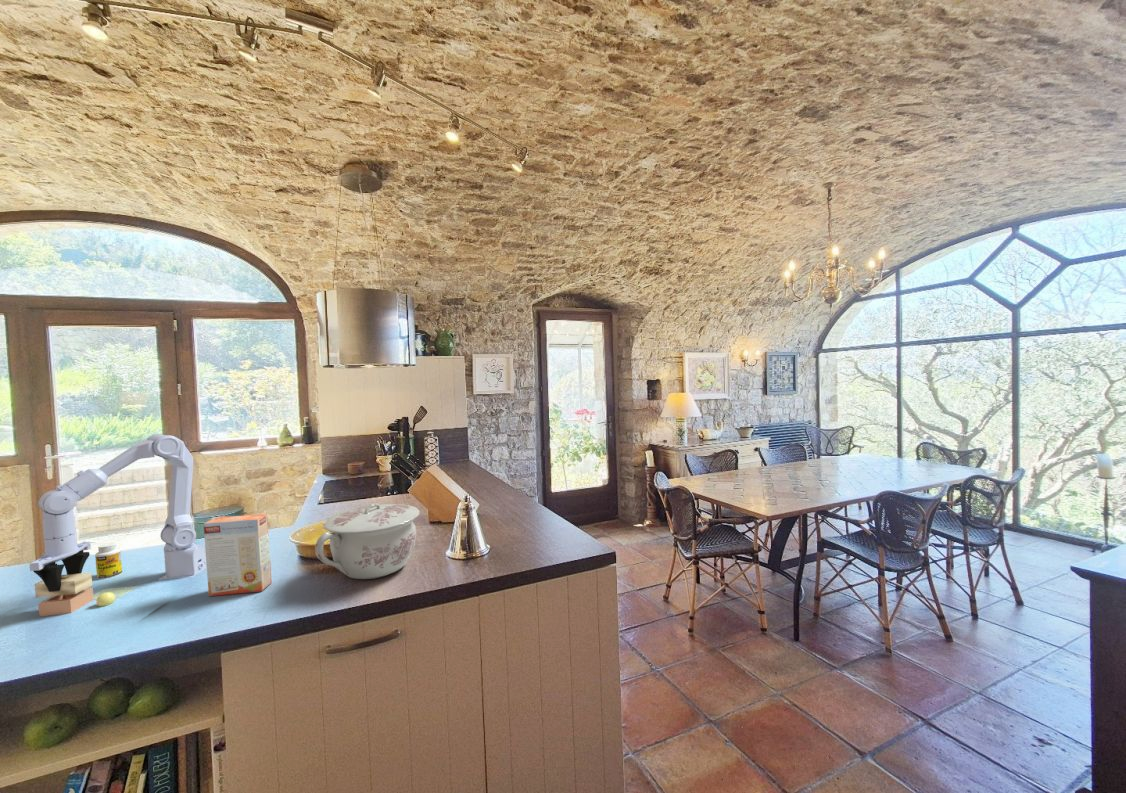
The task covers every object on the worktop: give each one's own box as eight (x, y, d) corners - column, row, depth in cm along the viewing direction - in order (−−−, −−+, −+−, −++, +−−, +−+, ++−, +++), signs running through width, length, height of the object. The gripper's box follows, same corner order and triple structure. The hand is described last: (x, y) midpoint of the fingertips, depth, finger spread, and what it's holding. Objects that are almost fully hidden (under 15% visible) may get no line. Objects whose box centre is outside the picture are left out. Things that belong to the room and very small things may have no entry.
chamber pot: (422, 547, 158) (419, 488, 157) (423, 581, 132) (419, 510, 131) (332, 560, 150) (329, 497, 149) (315, 598, 123) (310, 523, 122)
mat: (139, 587, 133) (139, 585, 133) (119, 599, 127) (119, 597, 127) (104, 590, 132) (104, 588, 132) (82, 602, 125) (82, 600, 125)
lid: (92, 585, 124) (90, 570, 124) (75, 593, 119) (74, 578, 119) (54, 588, 123) (52, 573, 123) (35, 597, 118) (34, 581, 118)
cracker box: (272, 582, 134) (268, 512, 133) (262, 592, 128) (257, 519, 127) (221, 587, 132) (216, 516, 131) (207, 597, 126) (202, 522, 125)
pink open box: (93, 601, 126) (92, 587, 125) (71, 614, 119) (70, 599, 119) (63, 605, 124) (62, 590, 124) (39, 618, 118) (38, 603, 117)
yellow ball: (119, 602, 125) (118, 589, 125) (108, 608, 121) (107, 595, 121) (104, 603, 125) (103, 590, 124) (93, 610, 121) (91, 596, 121)
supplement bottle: (94, 582, 138) (91, 549, 138) (100, 576, 143) (97, 544, 142) (119, 577, 141) (116, 545, 140) (125, 571, 146) (122, 540, 145)
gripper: (68, 527, 127) (73, 575, 128) (13, 547, 113) (18, 600, 113) (97, 525, 128) (101, 573, 129) (46, 544, 114) (51, 598, 114)
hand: (64, 586), depth 121 cm, fingers closed on lid, 5 cm apart
